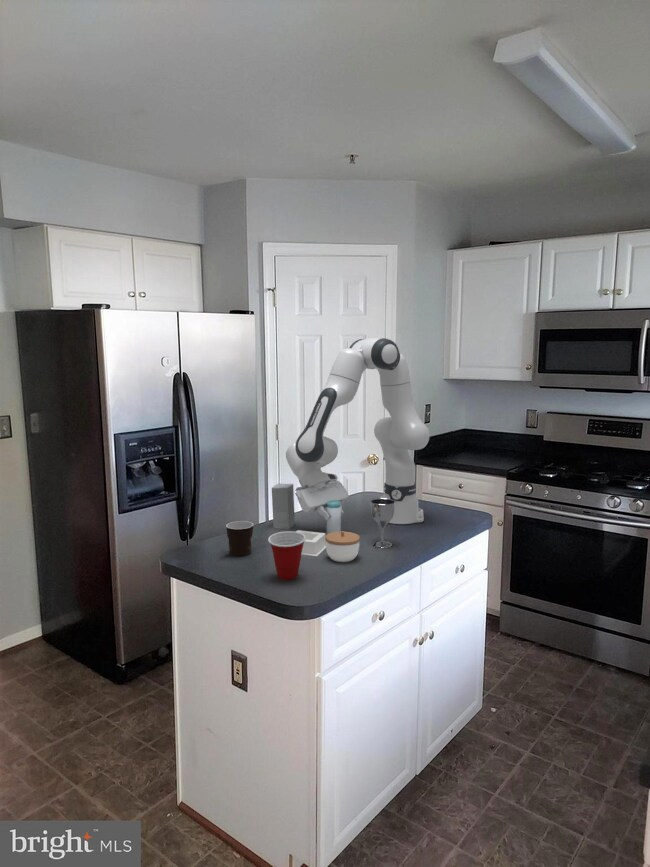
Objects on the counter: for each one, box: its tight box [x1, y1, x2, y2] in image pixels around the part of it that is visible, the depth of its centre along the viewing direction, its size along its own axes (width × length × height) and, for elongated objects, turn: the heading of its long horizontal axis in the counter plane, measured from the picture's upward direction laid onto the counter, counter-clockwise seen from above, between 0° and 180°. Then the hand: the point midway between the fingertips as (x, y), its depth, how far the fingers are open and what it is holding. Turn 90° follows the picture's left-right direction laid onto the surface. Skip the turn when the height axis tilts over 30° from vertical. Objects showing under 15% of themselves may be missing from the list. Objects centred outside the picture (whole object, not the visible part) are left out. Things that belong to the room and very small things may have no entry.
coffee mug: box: [225, 520, 254, 558], centre depth 194 cm, size 12×9×10 cm
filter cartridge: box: [326, 500, 342, 535], centre depth 206 cm, size 5×5×12 cm
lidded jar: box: [325, 530, 361, 563], centre depth 188 cm, size 11×11×9 cm
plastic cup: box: [267, 530, 306, 581], centre depth 175 cm, size 11×11×12 cm
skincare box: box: [271, 483, 296, 530], centre depth 222 cm, size 8×7×16 cm
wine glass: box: [370, 497, 395, 549], centre depth 203 cm, size 8×8×15 cm
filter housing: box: [295, 529, 327, 557], centre depth 198 cm, size 12×12×5 cm
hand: (335, 516), depth 206 cm, fingers closed on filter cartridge, 5 cm apart
